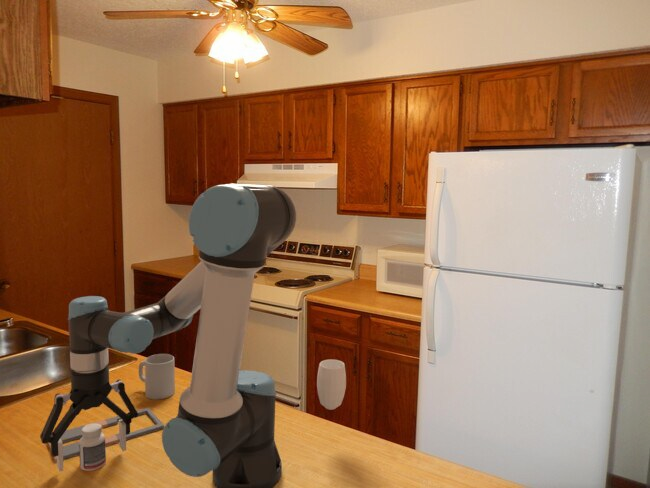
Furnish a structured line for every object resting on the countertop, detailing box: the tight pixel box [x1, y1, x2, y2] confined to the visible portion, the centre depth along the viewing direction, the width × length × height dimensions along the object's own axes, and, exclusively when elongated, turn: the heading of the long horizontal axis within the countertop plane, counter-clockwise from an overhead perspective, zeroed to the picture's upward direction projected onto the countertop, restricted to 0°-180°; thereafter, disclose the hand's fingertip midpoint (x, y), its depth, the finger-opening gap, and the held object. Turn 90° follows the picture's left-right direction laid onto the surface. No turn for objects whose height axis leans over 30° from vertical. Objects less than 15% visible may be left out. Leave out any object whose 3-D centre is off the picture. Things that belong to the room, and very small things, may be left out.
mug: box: [138, 353, 176, 400], centre depth 141 cm, size 12×8×11 cm
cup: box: [316, 359, 347, 411], centre depth 115 cm, size 7×7×21 cm
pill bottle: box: [78, 422, 107, 472], centre depth 104 cm, size 5×5×9 cm
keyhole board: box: [47, 407, 165, 463], centre depth 118 cm, size 12×25×1 cm, turn 129°
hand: (92, 457), depth 105 cm, fingers open, 12 cm apart
